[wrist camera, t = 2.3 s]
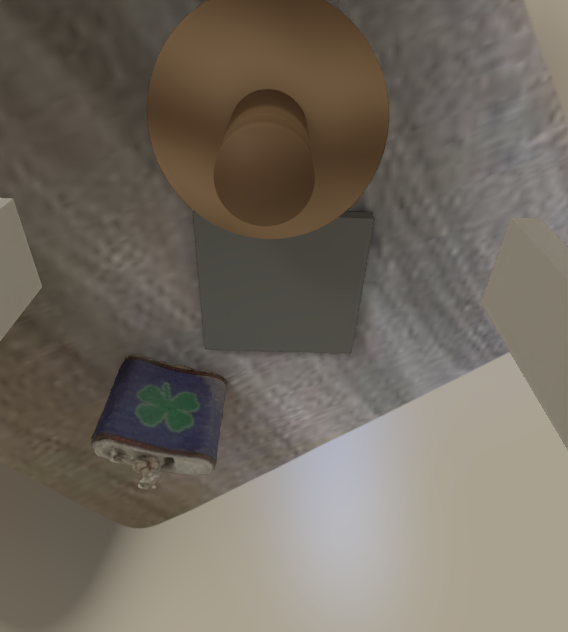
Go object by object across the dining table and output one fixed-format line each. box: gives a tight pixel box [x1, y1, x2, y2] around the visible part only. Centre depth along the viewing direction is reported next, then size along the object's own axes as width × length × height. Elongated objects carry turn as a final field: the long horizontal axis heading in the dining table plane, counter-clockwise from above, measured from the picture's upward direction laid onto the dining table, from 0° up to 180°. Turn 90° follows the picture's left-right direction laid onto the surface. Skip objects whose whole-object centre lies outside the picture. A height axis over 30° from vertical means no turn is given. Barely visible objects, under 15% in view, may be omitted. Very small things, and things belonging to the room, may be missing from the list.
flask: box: [92, 355, 226, 489], centre depth 36 cm, size 9×3×11 cm, turn 71°
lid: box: [147, 0, 389, 239], centre depth 19 cm, size 11×11×7 cm
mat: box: [193, 211, 374, 354], centre depth 34 cm, size 12×12×1 cm
